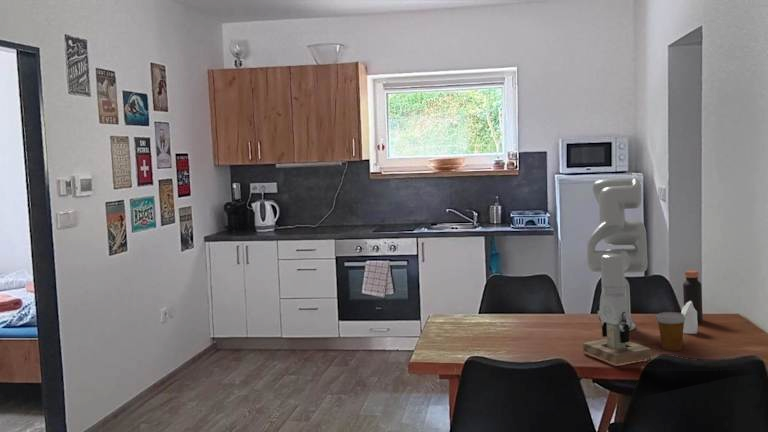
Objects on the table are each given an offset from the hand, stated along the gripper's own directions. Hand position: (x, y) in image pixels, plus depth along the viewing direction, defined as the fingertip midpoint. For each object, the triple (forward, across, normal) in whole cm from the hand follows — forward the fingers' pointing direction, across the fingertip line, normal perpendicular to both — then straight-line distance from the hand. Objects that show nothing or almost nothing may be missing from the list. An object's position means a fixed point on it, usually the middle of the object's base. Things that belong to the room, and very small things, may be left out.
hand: (615, 339), depth 247 cm
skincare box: (+6, 0, 0) cm, 7 cm away
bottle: (+6, -23, +55) cm, 60 cm away
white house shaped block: (+7, -11, +42) cm, 44 cm away
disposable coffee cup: (+6, +2, +22) cm, 23 cm away
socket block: (+6, 0, 0) cm, 6 cm away
